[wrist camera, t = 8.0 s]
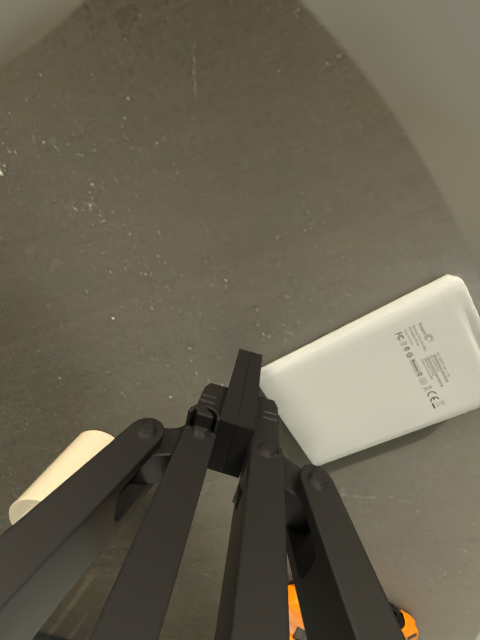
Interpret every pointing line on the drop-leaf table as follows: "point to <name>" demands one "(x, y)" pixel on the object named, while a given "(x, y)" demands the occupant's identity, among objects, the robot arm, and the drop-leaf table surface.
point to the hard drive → (381, 373)
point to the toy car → (298, 630)
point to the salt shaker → (60, 471)
